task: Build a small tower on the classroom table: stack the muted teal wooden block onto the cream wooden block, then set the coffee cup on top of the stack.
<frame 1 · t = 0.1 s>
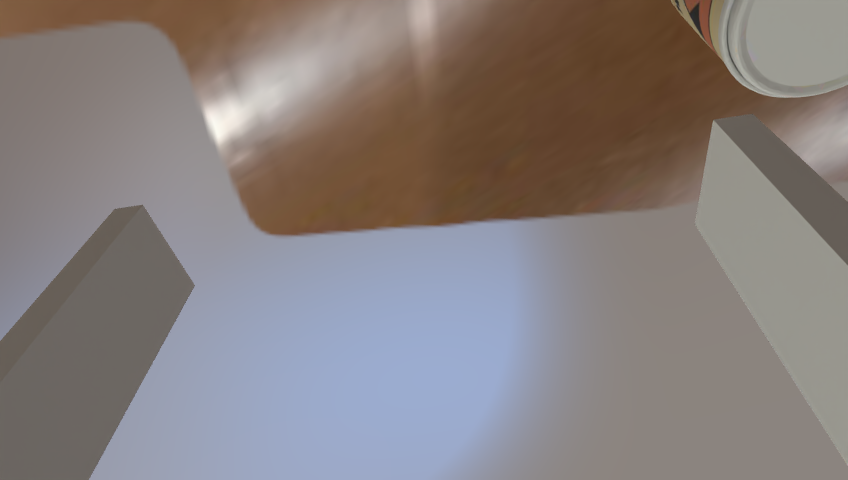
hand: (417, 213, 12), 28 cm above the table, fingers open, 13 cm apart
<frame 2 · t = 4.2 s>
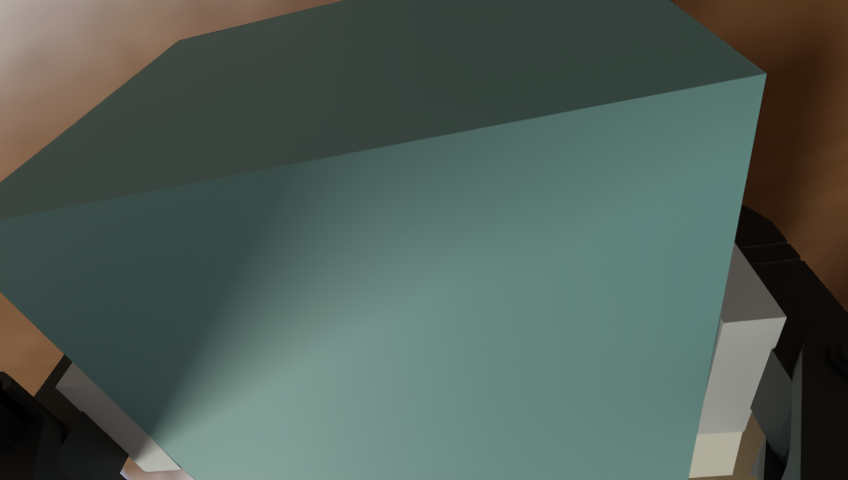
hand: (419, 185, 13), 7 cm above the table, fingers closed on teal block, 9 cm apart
cream block: (576, 289, 24), on the table
coffee cup: (699, 424, 30), on the table
teal block: (419, 174, 13), point 6 cm above the table, touching gripper
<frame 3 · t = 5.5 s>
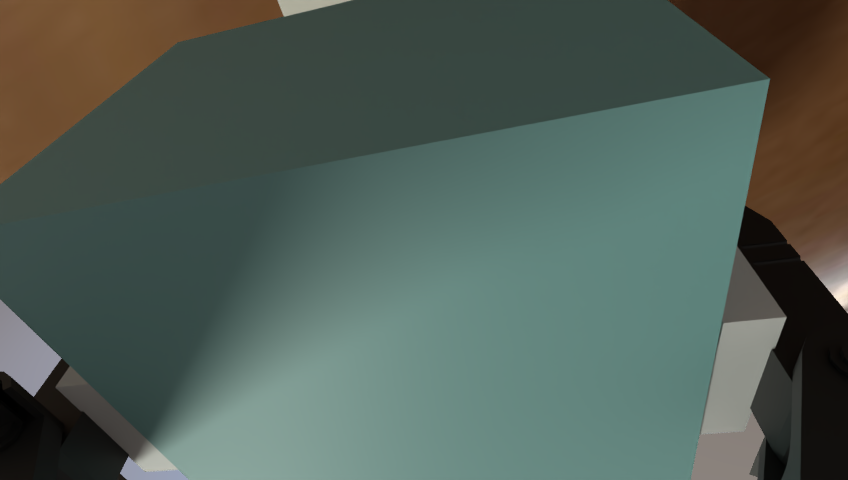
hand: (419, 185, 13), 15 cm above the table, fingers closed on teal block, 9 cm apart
cream block: (431, 17, 25), on the table
teal block: (419, 176, 13), point 14 cm above the table, touching gripper
when the fingers open (7 cm above the table, at t = 7.2 s): teal block stays where it is, resting on cream block.
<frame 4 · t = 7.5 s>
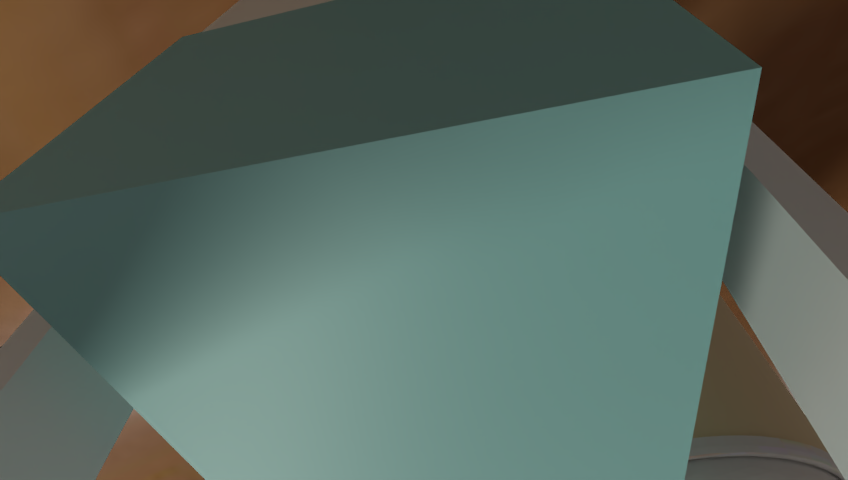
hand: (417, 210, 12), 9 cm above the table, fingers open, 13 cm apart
cream block: (427, 74, 19), on the table, touching teal block
coffee cup: (608, 281, 25), on the table
teal block: (420, 170, 14), point 7 cm above the table, touching cream block
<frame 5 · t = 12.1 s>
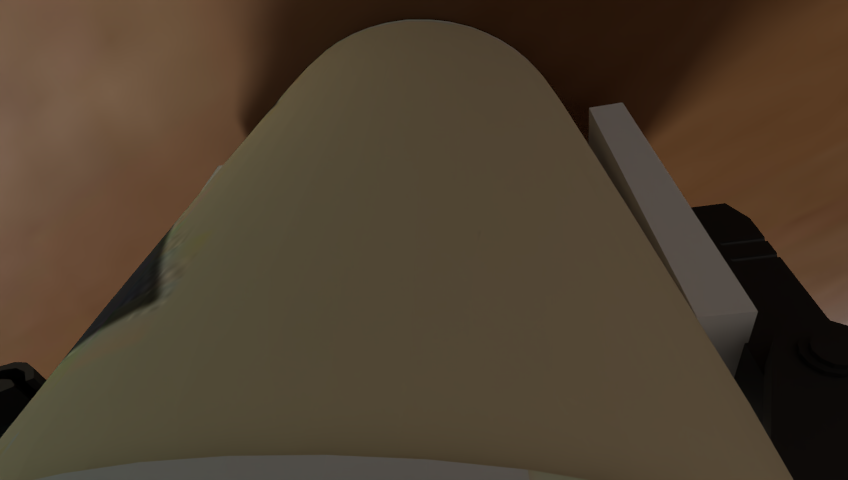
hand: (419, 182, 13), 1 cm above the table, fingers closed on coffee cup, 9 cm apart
coffee cup: (423, 160, 14), on the table, touching gripper
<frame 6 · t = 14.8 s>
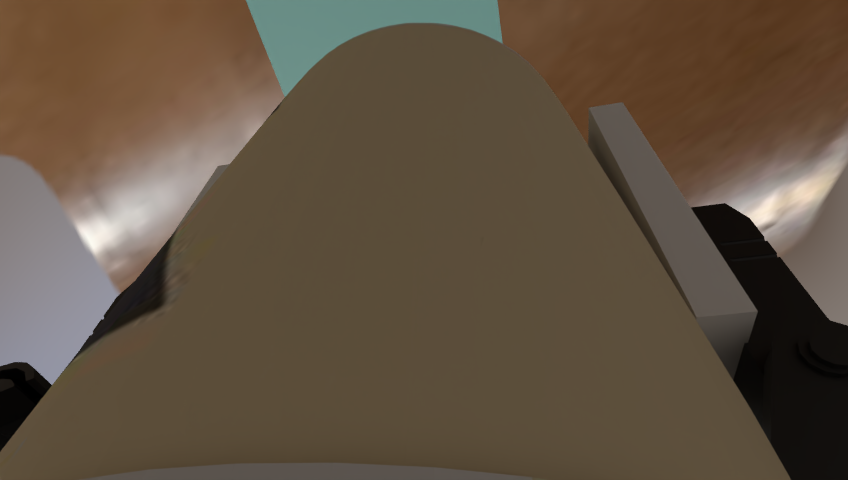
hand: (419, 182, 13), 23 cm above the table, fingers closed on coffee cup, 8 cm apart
coffee cup: (424, 162, 14), point 21 cm above the table, touching gripper
when the fingers open (16 cm above the table, at t = 17.4 s): coffee cup stays where it is, resting on teal block.
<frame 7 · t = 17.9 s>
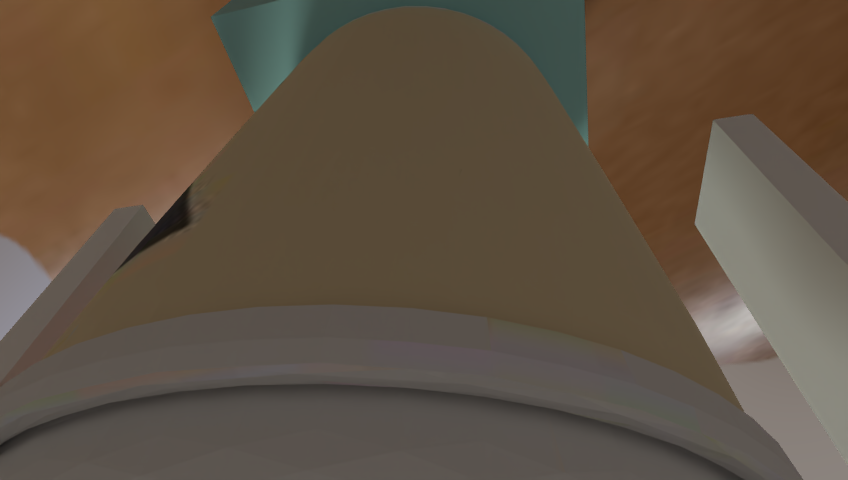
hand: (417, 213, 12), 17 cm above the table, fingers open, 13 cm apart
coffee cup: (419, 141, 15), point 14 cm above the table, touching teal block
teal block: (431, 58, 20), point 7 cm above the table, touching coffee cup, cream block
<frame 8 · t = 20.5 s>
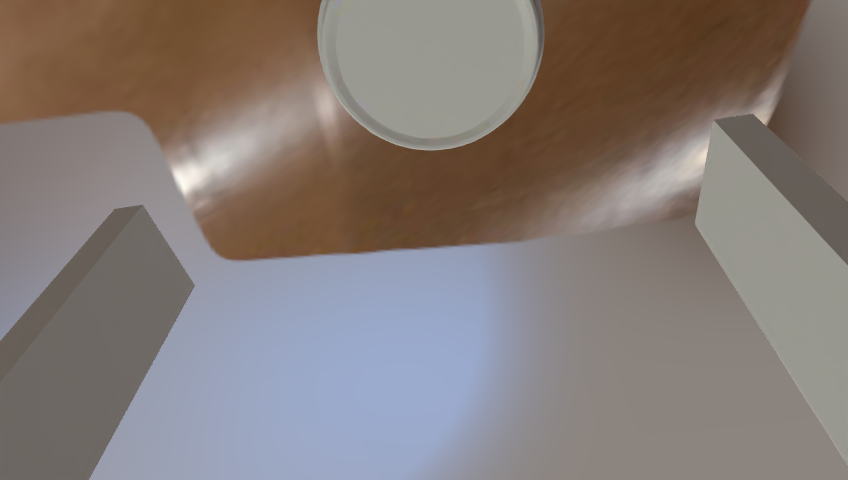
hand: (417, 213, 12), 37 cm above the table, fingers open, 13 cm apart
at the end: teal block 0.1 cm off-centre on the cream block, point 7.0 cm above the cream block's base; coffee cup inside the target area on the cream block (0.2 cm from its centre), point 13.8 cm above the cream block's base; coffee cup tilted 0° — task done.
